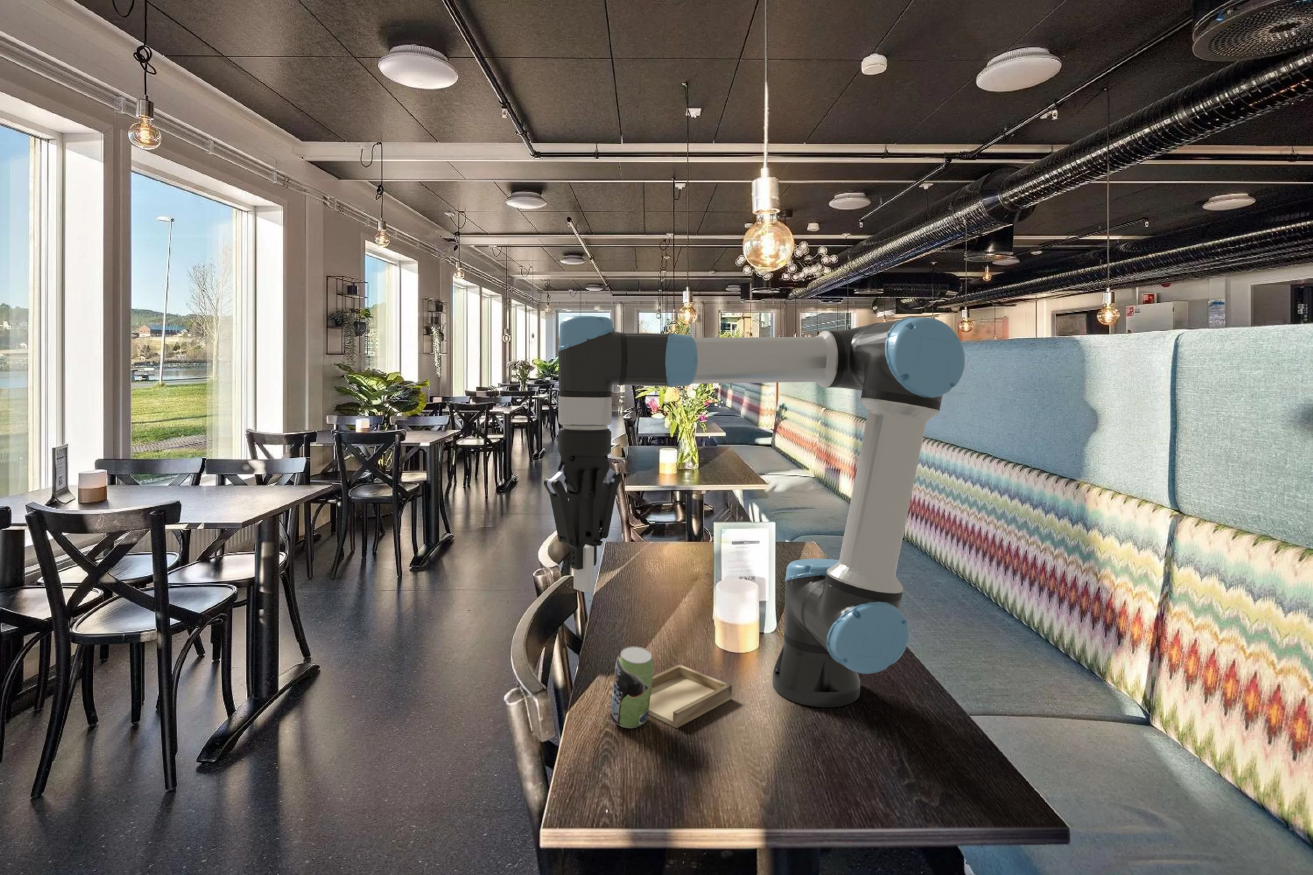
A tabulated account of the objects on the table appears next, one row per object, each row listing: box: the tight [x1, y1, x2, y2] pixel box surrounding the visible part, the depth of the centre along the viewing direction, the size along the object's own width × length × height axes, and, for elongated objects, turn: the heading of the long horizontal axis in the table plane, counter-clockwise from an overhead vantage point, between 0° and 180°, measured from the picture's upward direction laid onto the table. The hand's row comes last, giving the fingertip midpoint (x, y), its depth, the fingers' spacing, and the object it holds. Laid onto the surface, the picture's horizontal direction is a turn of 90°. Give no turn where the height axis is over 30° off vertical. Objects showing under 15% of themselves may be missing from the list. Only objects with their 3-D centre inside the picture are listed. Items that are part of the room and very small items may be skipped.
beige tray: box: [648, 664, 733, 729], centre depth 117 cm, size 12×14×2 cm
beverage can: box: [609, 645, 655, 729], centre depth 108 cm, size 6×7×12 cm
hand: (583, 589), depth 99 cm, fingers closed
